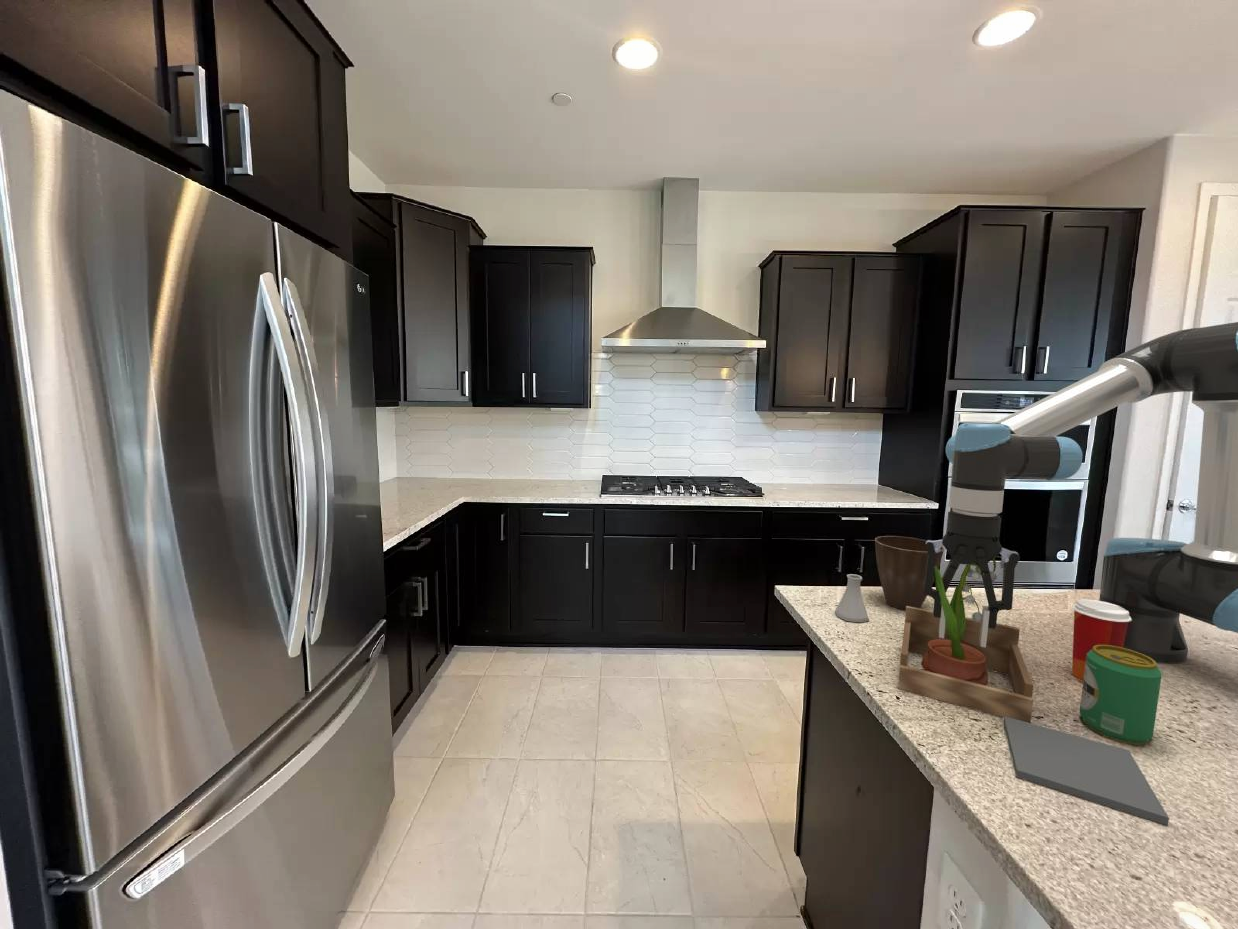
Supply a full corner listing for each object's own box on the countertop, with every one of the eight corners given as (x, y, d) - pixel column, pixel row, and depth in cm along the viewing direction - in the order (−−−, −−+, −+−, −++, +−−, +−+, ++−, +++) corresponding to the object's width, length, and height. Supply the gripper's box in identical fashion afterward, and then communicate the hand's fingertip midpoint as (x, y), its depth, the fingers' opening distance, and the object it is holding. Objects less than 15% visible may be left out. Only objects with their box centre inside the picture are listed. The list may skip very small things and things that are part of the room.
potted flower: (974, 669, 93) (991, 540, 90) (1012, 700, 83) (1033, 556, 80) (909, 664, 94) (924, 536, 91) (939, 694, 84) (957, 552, 81)
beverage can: (1072, 707, 81) (1080, 638, 80) (1139, 724, 77) (1149, 651, 76) (1087, 734, 74) (1097, 659, 73) (1162, 754, 70) (1173, 674, 69)
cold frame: (1013, 674, 92) (1018, 627, 91) (1030, 724, 76) (1036, 670, 75) (902, 647, 101) (906, 605, 100) (897, 688, 86) (902, 639, 85)
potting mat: (1127, 756, 70) (1128, 750, 70) (1167, 825, 58) (1168, 818, 58) (1003, 722, 77) (1003, 716, 77) (1016, 777, 65) (1017, 770, 65)
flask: (829, 611, 119) (831, 571, 118) (857, 610, 120) (860, 571, 119) (845, 624, 112) (848, 581, 111) (875, 623, 113) (878, 581, 112)
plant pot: (881, 589, 135) (886, 532, 133) (945, 605, 124) (950, 544, 123) (861, 603, 124) (866, 542, 123) (929, 622, 114) (935, 555, 112)
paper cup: (1106, 672, 93) (1115, 601, 91) (1133, 694, 85) (1143, 617, 84) (1055, 665, 95) (1063, 595, 94) (1077, 685, 88) (1086, 610, 86)
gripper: (1038, 515, 84) (1023, 645, 86) (913, 502, 93) (903, 619, 96) (1047, 523, 77) (1031, 663, 80) (912, 508, 87) (901, 634, 90)
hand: (961, 639), depth 88 cm, fingers open, 5 cm apart
